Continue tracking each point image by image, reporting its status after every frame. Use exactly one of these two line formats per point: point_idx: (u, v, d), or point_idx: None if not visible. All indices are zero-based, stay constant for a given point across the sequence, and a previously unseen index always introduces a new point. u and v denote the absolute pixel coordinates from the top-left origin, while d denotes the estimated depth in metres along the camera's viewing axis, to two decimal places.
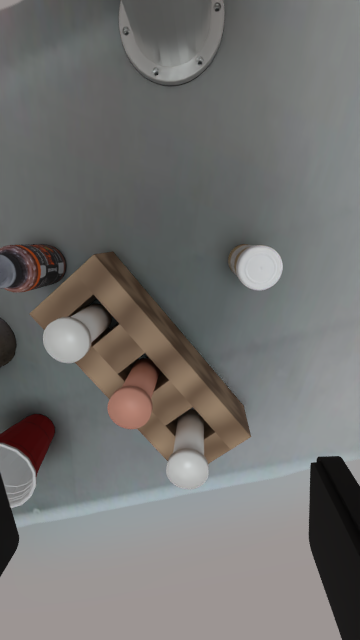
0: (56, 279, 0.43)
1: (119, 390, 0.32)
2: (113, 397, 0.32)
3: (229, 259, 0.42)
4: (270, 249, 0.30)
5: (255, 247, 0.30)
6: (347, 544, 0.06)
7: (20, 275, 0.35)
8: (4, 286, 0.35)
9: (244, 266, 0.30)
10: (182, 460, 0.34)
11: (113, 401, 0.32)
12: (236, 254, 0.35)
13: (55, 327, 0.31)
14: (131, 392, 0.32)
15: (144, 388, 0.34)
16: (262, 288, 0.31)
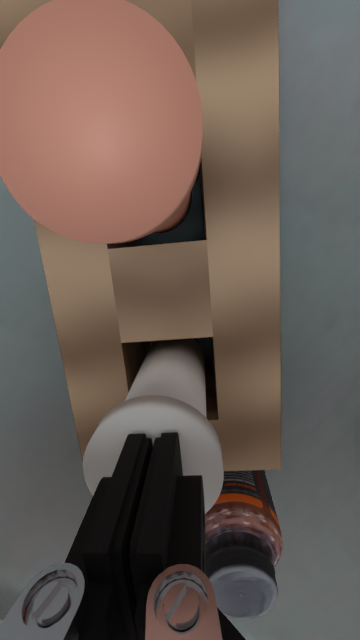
0: None
1: None
2: (122, 232, 0.07)
3: None
4: None
5: None
6: None
7: (217, 552, 0.17)
8: (255, 573, 0.16)
9: None
10: None
11: (134, 214, 0.07)
12: None
13: None
14: (36, 206, 0.07)
15: None
16: None
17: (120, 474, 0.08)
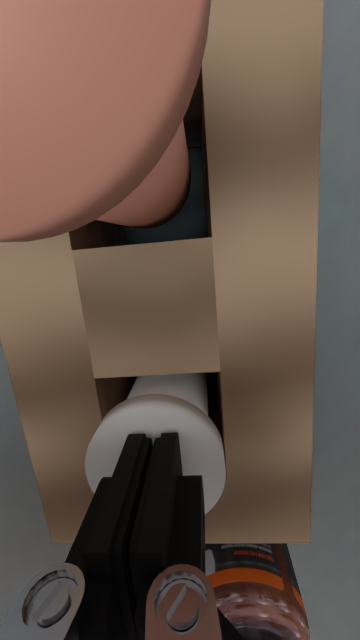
0: None
1: None
2: None
3: None
4: None
5: None
6: None
7: None
8: None
9: None
10: None
11: (25, 162, 0.02)
12: None
13: None
14: None
15: None
16: None
17: (120, 474, 0.08)
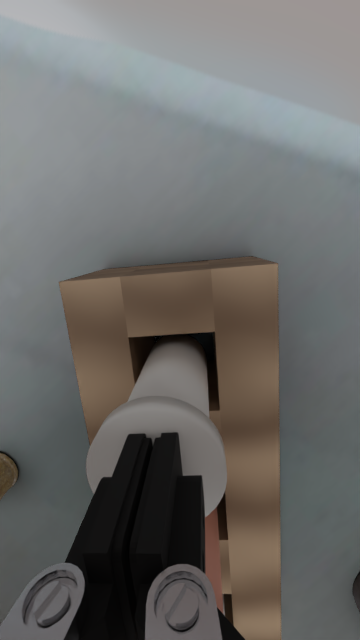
0: None
1: None
2: None
3: (10, 486, 0.30)
4: None
5: None
6: None
7: None
8: None
9: None
10: None
11: None
12: None
13: None
14: None
15: None
16: None
17: (120, 474, 0.08)
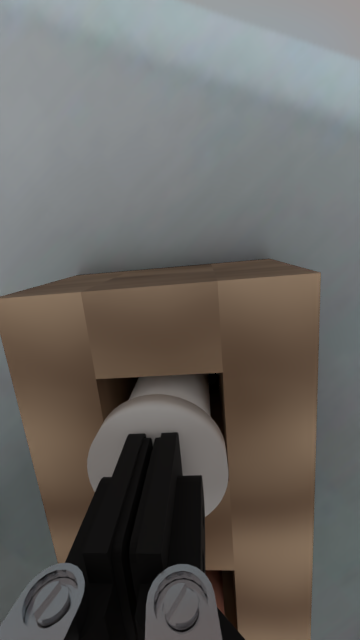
0: None
1: None
2: None
3: None
4: None
5: None
6: None
7: None
8: None
9: None
10: None
11: None
12: None
13: None
14: None
15: None
16: None
17: (120, 474, 0.08)
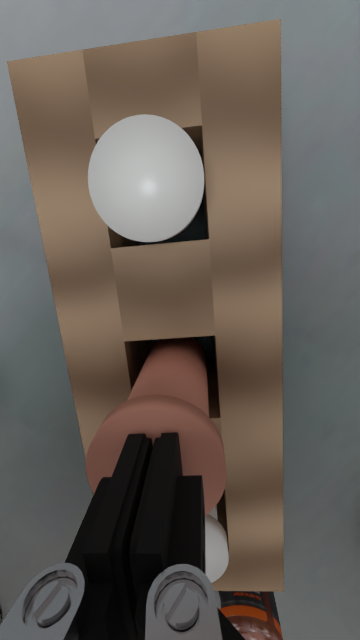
0: None
1: None
2: None
3: None
4: None
5: None
6: None
7: None
8: None
9: None
10: (136, 222, 0.13)
11: None
12: None
13: None
14: None
15: None
16: None
17: (120, 474, 0.08)
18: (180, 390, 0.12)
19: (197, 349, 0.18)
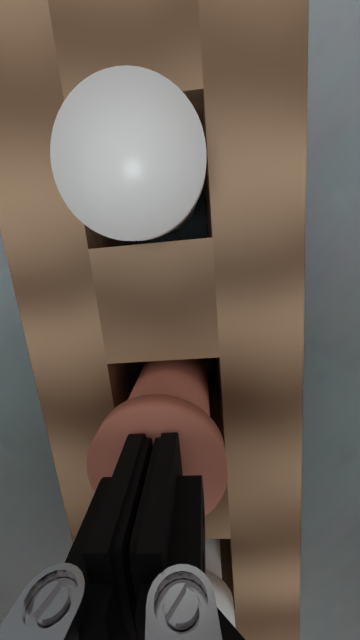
0: None
1: None
2: None
3: None
4: None
5: None
6: None
7: None
8: None
9: None
10: (116, 214, 0.09)
11: None
12: None
13: None
14: None
15: None
16: None
17: (120, 474, 0.08)
18: (181, 389, 0.12)
19: None
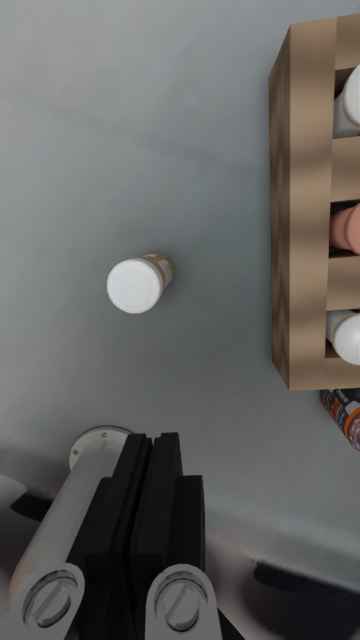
0: None
1: None
2: None
3: (169, 281, 0.37)
4: (112, 300, 0.25)
5: (126, 311, 0.25)
6: None
7: None
8: None
9: (147, 301, 0.25)
10: None
11: None
12: None
13: (359, 358, 0.28)
14: (359, 247, 0.24)
15: (343, 233, 0.26)
16: (142, 264, 0.24)
17: (120, 474, 0.08)
18: None
19: None
